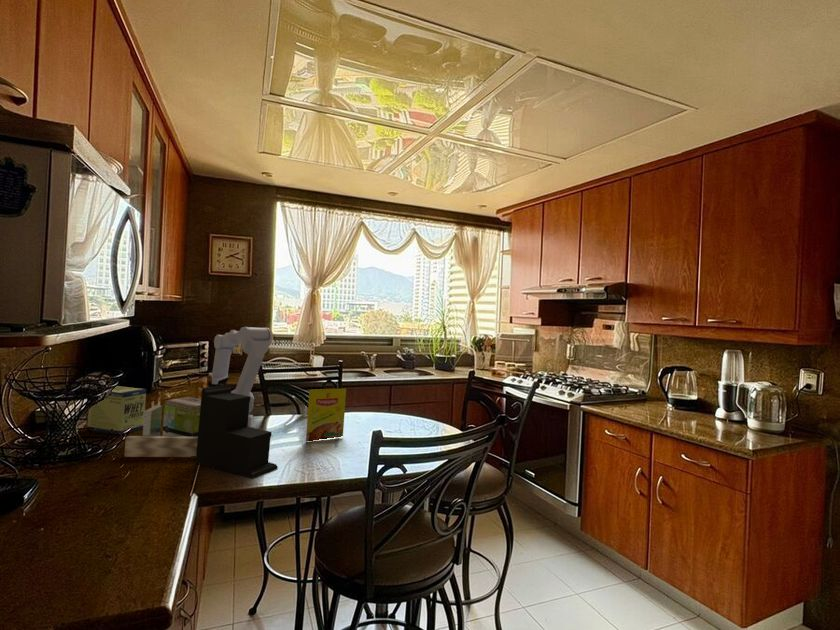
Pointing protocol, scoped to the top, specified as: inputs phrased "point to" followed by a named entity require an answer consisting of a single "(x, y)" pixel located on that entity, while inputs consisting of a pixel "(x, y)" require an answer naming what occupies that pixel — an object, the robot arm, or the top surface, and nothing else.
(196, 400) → the tea box
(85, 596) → the top surface
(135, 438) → the shelf wall
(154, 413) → the small book
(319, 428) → the food package
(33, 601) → the top surface
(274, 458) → the top surface
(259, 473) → the black stepped block
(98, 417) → the protein box
